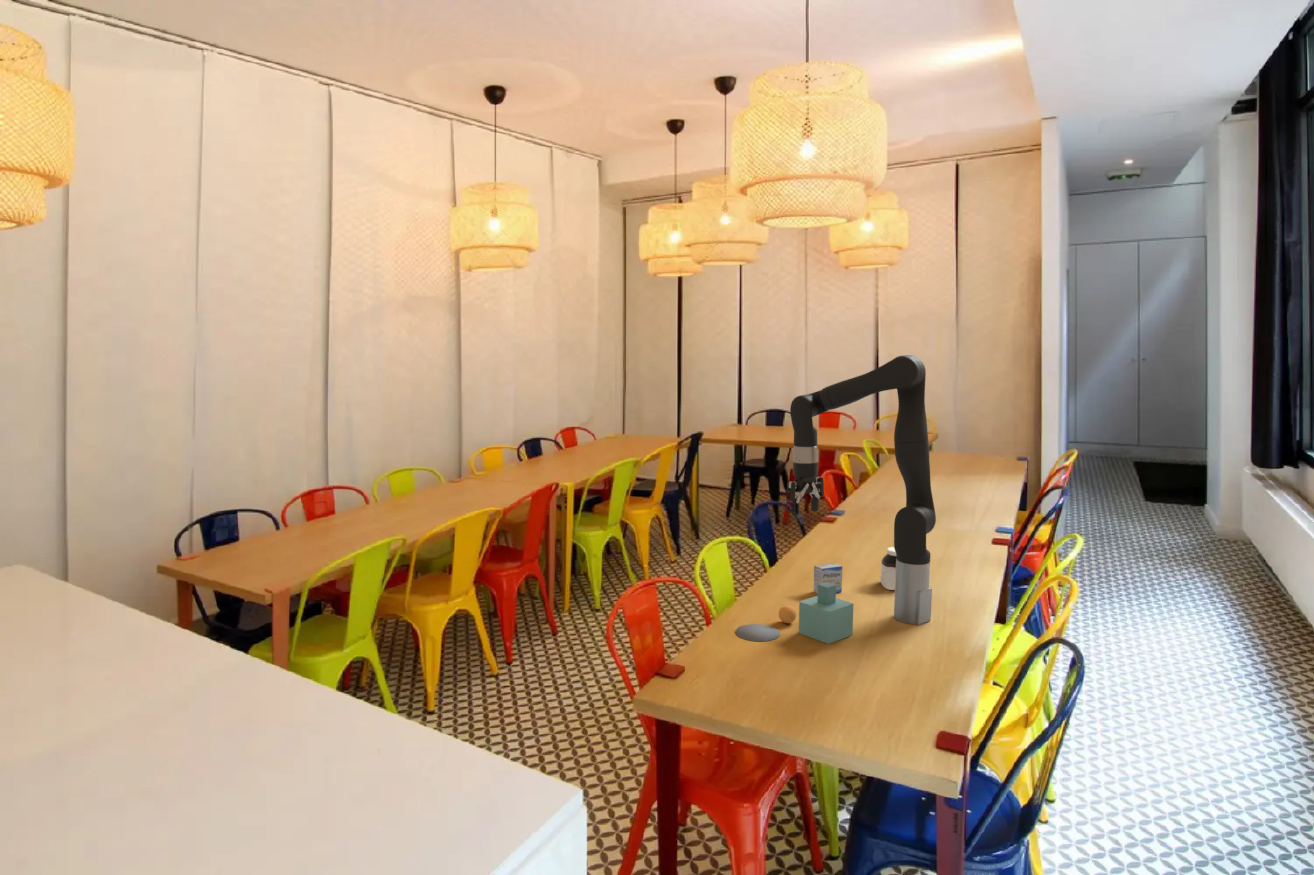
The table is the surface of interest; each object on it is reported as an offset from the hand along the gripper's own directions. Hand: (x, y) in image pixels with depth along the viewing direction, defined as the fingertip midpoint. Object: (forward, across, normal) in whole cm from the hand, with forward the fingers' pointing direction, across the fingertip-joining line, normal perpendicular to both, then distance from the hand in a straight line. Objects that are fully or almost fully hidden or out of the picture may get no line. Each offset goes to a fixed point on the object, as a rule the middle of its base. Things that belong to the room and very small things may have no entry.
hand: (805, 512), depth 240 cm
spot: (+27, -32, -12) cm, 44 cm away
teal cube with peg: (+27, -18, -24) cm, 40 cm away
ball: (+24, -20, -12) cm, 34 cm away
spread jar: (+27, +32, -10) cm, 43 cm away
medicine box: (+27, +10, -1) cm, 29 cm away
